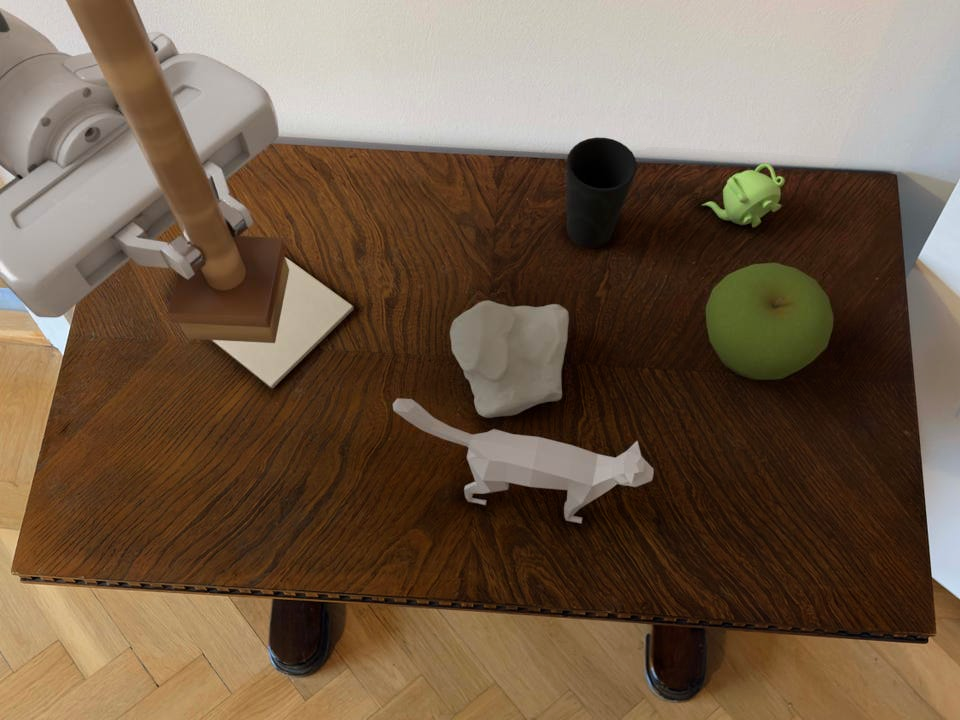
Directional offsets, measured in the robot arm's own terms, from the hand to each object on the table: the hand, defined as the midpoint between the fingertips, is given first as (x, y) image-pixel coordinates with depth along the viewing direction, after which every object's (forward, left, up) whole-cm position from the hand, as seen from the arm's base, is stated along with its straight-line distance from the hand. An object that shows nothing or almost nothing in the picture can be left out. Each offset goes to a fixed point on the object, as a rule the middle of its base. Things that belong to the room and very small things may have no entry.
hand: (220, 245), depth 52 cm
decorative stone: (+18, -9, -28) cm, 34 cm away
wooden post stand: (0, +1, -8) cm, 8 cm away
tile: (+5, +11, -28) cm, 30 cm away
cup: (+35, -2, -28) cm, 44 cm away
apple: (+36, -22, -28) cm, 50 cm away
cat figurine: (+10, -17, -28) cm, 34 cm away
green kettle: (+48, -11, -28) cm, 56 cm away
